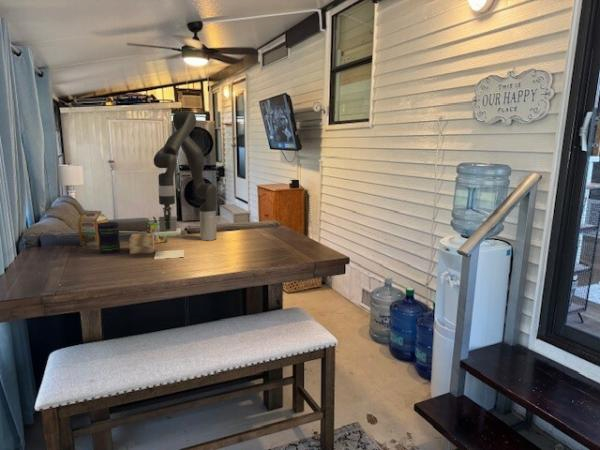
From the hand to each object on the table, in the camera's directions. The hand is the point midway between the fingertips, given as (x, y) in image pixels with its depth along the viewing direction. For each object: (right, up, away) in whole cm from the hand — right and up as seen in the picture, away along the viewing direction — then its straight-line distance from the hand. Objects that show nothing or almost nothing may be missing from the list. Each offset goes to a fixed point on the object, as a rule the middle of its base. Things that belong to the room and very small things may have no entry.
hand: (168, 228), depth 201 cm
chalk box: (-16, -8, +31) cm, 36 cm away
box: (-17, -12, +10) cm, 23 cm away
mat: (0, -13, +3) cm, 14 cm away
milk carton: (-48, -9, +23) cm, 54 cm away
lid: (0, -2, 0) cm, 2 cm away
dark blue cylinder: (-32, -12, +7) cm, 35 cm away
